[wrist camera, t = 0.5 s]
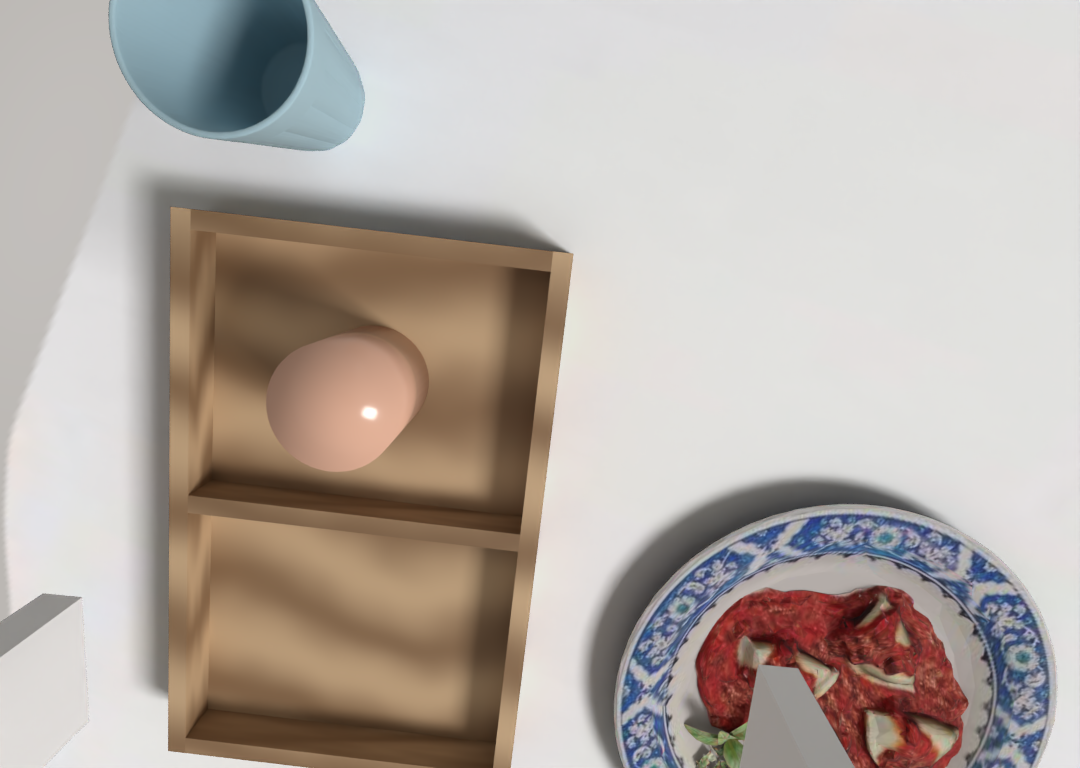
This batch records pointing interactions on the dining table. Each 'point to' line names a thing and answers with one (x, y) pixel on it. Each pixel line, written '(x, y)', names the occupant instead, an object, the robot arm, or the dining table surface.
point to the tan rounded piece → (346, 397)
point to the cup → (240, 70)
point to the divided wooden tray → (355, 498)
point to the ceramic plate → (843, 645)
